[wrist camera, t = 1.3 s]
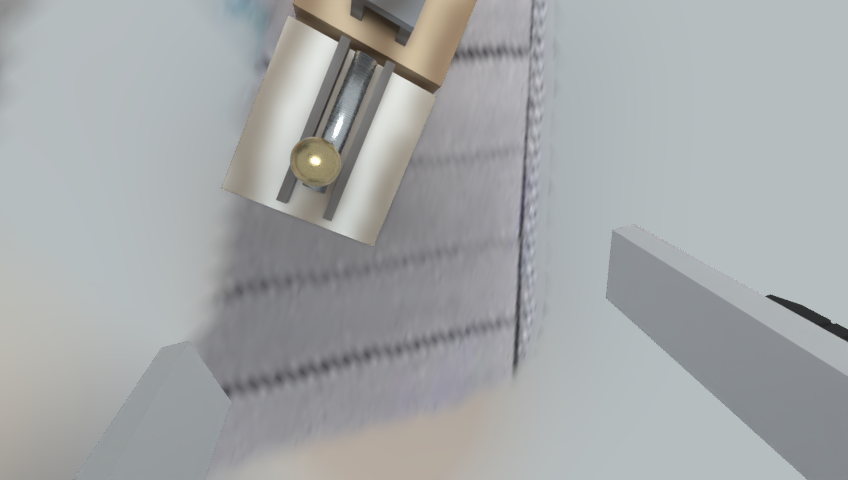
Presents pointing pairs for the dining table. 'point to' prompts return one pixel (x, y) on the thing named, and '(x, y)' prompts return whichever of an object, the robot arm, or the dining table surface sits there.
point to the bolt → (333, 129)
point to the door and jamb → (376, 119)
